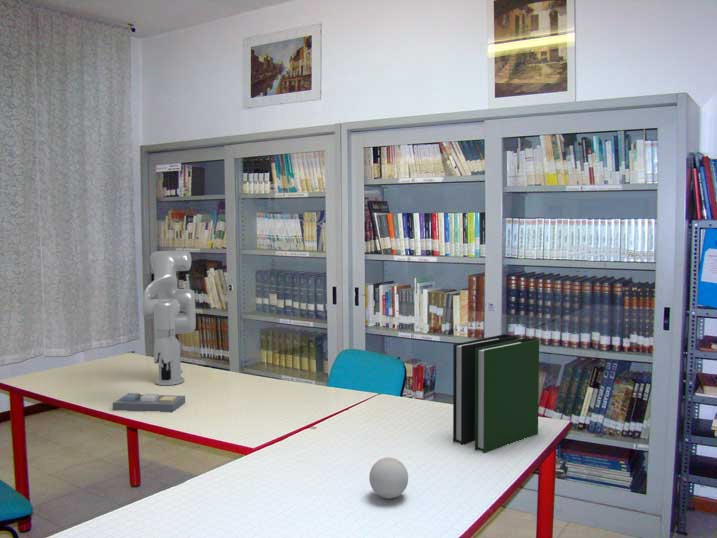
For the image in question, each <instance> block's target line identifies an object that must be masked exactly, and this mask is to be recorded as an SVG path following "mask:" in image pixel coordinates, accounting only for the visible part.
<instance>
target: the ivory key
mask: <svg viewBox="0 0 717 538" xmlns="http://www.w3.org/2000/svg"><path fill="white" fill-rule="evenodd" d="M142 395H143V396H142V397H140V400H141V401H150V402H153V401H155V400H157V399H158V398H159V396H158V395H159V393H145V394H142Z"/></svg>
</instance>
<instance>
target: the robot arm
mask: <svg viewBox="0 0 717 538" xmlns="http://www.w3.org/2000/svg"><path fill="white" fill-rule="evenodd" d="M149 259H150V260H149V261H150V266H151V267H152V270H153V272H154V280H152V281H151V282H150V283H149V284H148V285H147V286H146V288H145V289H144V291H143V293H142V294H143V295H142V300H141V302H142V306H141V307H142V309H141V310H142V315H143V316H144V317H145V318H146V319H154V320H153V321H154V346H153V363H154V364H157V365H158V378H157V379H156V380H155V384H156V385H157V384H158V386H176V385H180V384H183V383H184V382H185V377H183V376H182V373H183V371H184V370H183V369H181V368H182V365H181V344H180V341H179V340H178V338H177V337H176V335H178V334H179V335H182V334H185V335H186V334H192V333H195V330H196V323H197V321H196V320H197V318H196V317H197V316H196V299H195V298H196V297H195V294H194V291H193V290H192V289H190V288H178V277H177V272H186V271H187V272H188V271H190V269H191V266H192V255H191V253H190V252H189V251H188V250H157V251H154V252H152V253H151V254H150V257H149ZM156 295H157V298H153V297H154V296H156ZM181 311H184V312H181ZM182 382H183V383H182ZM175 384H176V385H175Z"/></svg>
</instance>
